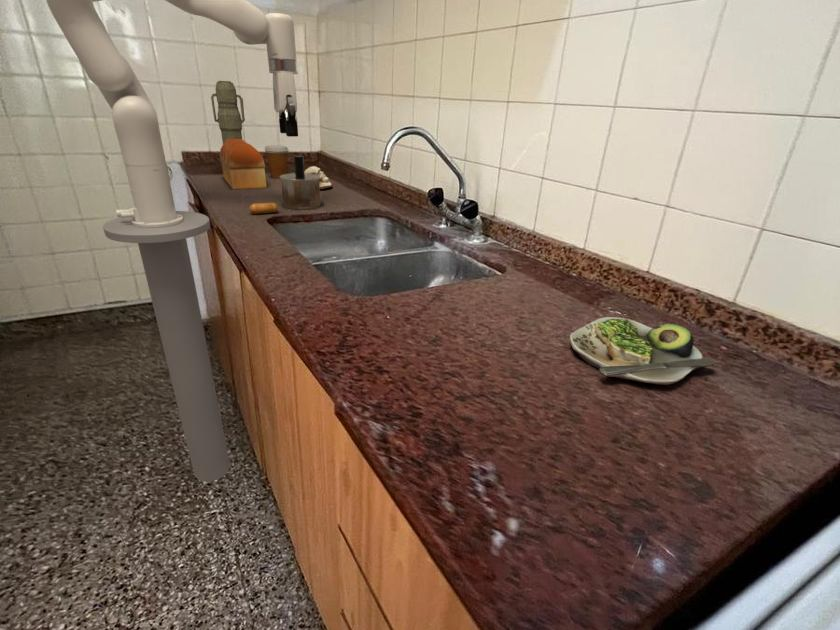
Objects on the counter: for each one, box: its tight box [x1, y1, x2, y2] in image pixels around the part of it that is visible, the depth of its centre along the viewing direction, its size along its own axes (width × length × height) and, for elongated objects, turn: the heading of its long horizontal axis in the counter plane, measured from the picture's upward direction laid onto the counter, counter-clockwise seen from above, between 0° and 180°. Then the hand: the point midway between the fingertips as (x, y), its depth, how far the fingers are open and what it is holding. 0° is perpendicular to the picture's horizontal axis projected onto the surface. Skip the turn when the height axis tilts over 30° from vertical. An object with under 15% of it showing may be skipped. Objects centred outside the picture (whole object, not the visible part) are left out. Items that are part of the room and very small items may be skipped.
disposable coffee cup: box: [264, 144, 290, 179], centre depth 186 cm, size 10×10×12 cm
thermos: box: [210, 80, 246, 145], centre depth 185 cm, size 9×12×35 cm
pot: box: [280, 179, 321, 210], centre depth 143 cm, size 11×11×8 cm
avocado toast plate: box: [569, 316, 717, 386], centre depth 66 cm, size 19×18×5 cm
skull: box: [304, 165, 333, 190], centre depth 171 cm, size 12×10×10 cm
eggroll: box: [249, 202, 279, 215], centre depth 133 cm, size 8×3×3 cm, turn 117°
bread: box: [219, 138, 267, 190], centre depth 172 cm, size 25×12×15 cm, turn 29°
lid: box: [279, 155, 320, 182], centre depth 140 cm, size 12×12×7 cm
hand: (289, 134), depth 131 cm, fingers open, 9 cm apart
